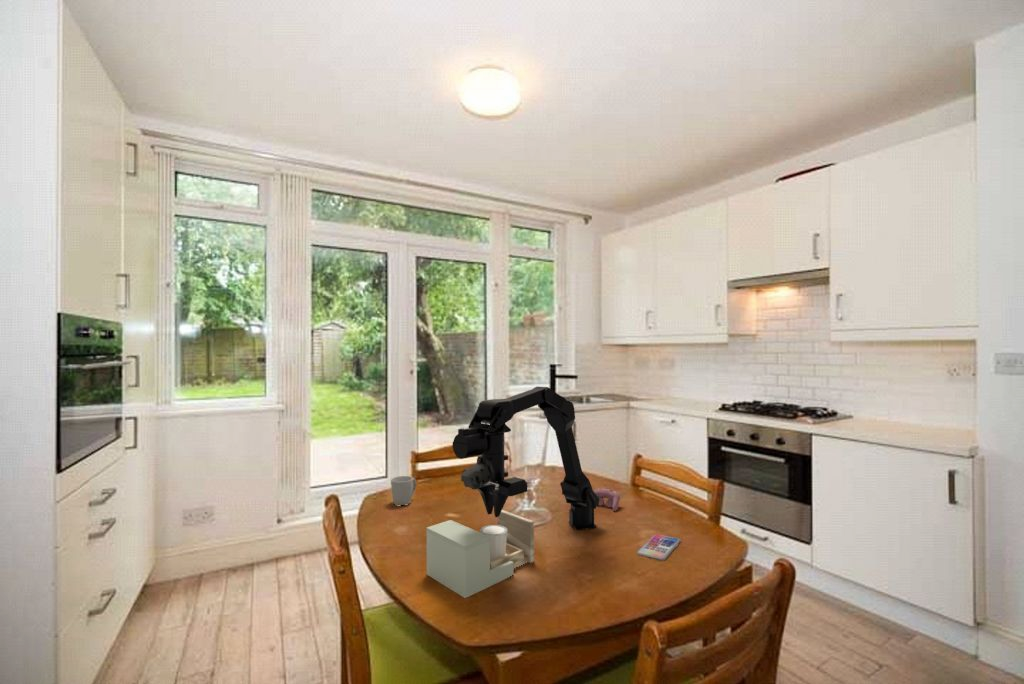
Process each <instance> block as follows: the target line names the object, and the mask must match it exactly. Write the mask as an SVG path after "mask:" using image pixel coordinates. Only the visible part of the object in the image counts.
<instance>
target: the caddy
mask: <svg viewBox="0 0 1024 684" xmlns="http://www.w3.org/2000/svg"><path fill="white" fill-rule="evenodd" d="M426 575H427V576H428V577H430V578H432V579H433V580H435V581H437V582H438V583H439V584H441V585H443V586H444V587H446V588H448V589H450V590H451V591H453V592H454V593H456V594H458V595H459V596H461V597H462V598H464V599H467V598H469V597H471V596H472V595H476V594H477V593H480V592H481V591H484V590H485V589H488V588H489V587H492V586H494V585H496V584H498V583H500V582H502V581H505V580H507V579H508V578H510V576H511V577H513V576H514V575H515V574H514V569H513V562H512V561H509V562H507V563H504V564H502V565H500V566H498V567H496V568H493V569H491V570H490V537H489V536H487V535H484V534H482V533H480V531H478V530H475V529H473V528H471V527H468V526H465V525H463V524H461V523H459V522H456V521H454V520H452V519H448V520H446V521H443V522H439V523H437V524H433V525H431V526H427V527H426ZM512 575H513V576H512Z"/></svg>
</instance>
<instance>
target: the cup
mask: <svg viewBox="0 0 1024 684" xmlns="http://www.w3.org/2000/svg"><path fill="white" fill-rule="evenodd" d="M390 485H391V487H390V488H391V495H392V502H393V505H394V504H395V505H394V506H396V505H405V504H409V503H410V502H412V497H413V496H414V494H415V493H416V490H417V480H416V479H415V478H414V477H413V476H410V475H402V476H401V475H399V476H394V477H392V478H391V479H390ZM410 504H411V503H410ZM410 504H409V505H410Z"/></svg>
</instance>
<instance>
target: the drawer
mask: <svg viewBox="0 0 1024 684" xmlns="http://www.w3.org/2000/svg"><path fill="white" fill-rule="evenodd" d="M534 523H535V522H534V520H531V519H528V518H526V517H522V516H520V515H517V514H515V513H512V512H510V511H506V510H504V509H502V511H501V513H500V515H499V517H497V525H500V526H504V527H506V528H507V541H506V554H505V557H502V558H500V559H498V560H495V561H493V562H490V570H491V569H493V568H496V567H498V566H500V565H502V564H504V563H507V562H509V561H512V562H513V570H515V569H517V568H516V567H518V568H519V566H520V567H522V566H524V565H526V564H528V563H529V562H530V563H529V564H532V563H534V562H535V529H534V528H535V527H534V526H535V524H534ZM527 562H528V563H527ZM531 562H532V563H531ZM525 563H526V564H525ZM523 564H524V565H523ZM521 565H522V566H521ZM514 568H515V569H514Z"/></svg>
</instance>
